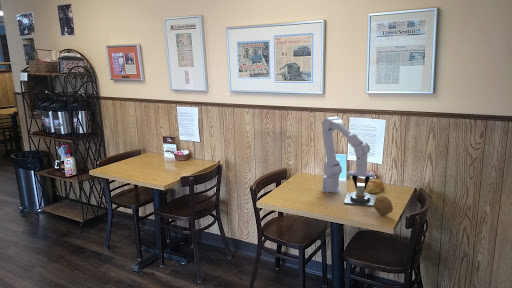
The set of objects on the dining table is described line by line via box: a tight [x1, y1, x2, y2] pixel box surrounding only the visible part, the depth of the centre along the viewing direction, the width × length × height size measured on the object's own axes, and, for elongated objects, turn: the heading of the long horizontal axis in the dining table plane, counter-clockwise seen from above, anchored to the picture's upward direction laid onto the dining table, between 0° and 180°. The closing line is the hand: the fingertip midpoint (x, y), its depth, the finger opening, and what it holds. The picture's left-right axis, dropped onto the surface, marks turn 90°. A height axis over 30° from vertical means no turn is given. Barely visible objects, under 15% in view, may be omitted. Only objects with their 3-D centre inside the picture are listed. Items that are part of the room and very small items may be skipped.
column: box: [356, 182, 366, 197], centre depth 211 cm, size 4×4×6 cm
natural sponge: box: [373, 195, 394, 216], centre depth 192 cm, size 9×9×10 cm
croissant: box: [365, 178, 384, 195], centre depth 228 cm, size 21×10×8 cm, turn 143°
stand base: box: [343, 191, 377, 208], centre depth 212 cm, size 16×16×4 cm
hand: (360, 189), depth 211 cm, fingers closed on column, 4 cm apart
